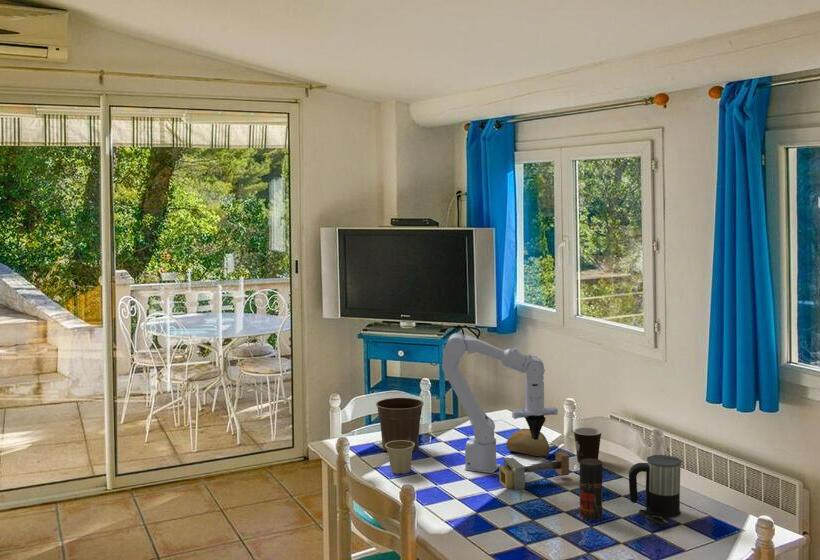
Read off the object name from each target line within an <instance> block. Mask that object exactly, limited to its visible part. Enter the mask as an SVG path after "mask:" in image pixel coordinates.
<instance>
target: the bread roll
mask: <svg viewBox="0 0 820 560" xmlns="http://www.w3.org/2000/svg"><path fill="white" fill-rule="evenodd" d="M505 445H506V449H507V450H509V451H510V452H515V453H519V454H525V455H531V456H535V457H539V458H540V457H541V458H544V457H546V456H548V455H549V454H550V445H549V442H548V440H547V437H546V436H545V435H544V433H543V432H541V431H540V434H539V438H538V439H537V440H534V439H532V436H531V431H530V428H522V429H520V430H519V429H518V430H517V431H515V432H514V433H513V434H511V435H510V436H509V437H508V438H507V441H506V444H505Z"/></svg>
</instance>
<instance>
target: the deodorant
mask: <svg viewBox="0 0 820 560" xmlns="http://www.w3.org/2000/svg"><path fill="white" fill-rule="evenodd" d="M579 517H580V518H582V519H584V520H589V521H595V520H599V519H600V520H601V519H602V518H603V461H602V460H601V459H599V458H598V459H592V458H587V459H582V460H580V463H579Z"/></svg>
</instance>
